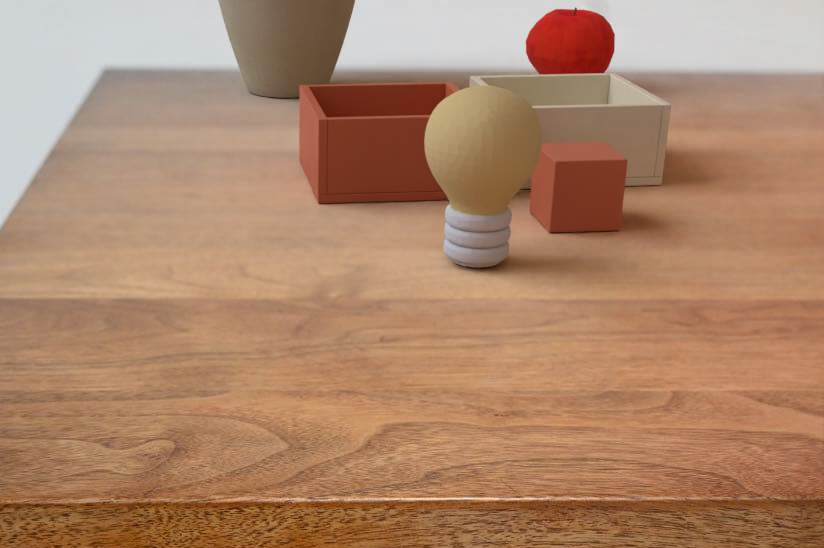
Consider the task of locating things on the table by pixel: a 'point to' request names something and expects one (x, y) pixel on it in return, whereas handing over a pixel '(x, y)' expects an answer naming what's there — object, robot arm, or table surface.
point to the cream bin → (596, 116)
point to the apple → (571, 43)
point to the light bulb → (481, 167)
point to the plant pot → (286, 42)
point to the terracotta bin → (369, 140)
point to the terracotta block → (578, 187)
